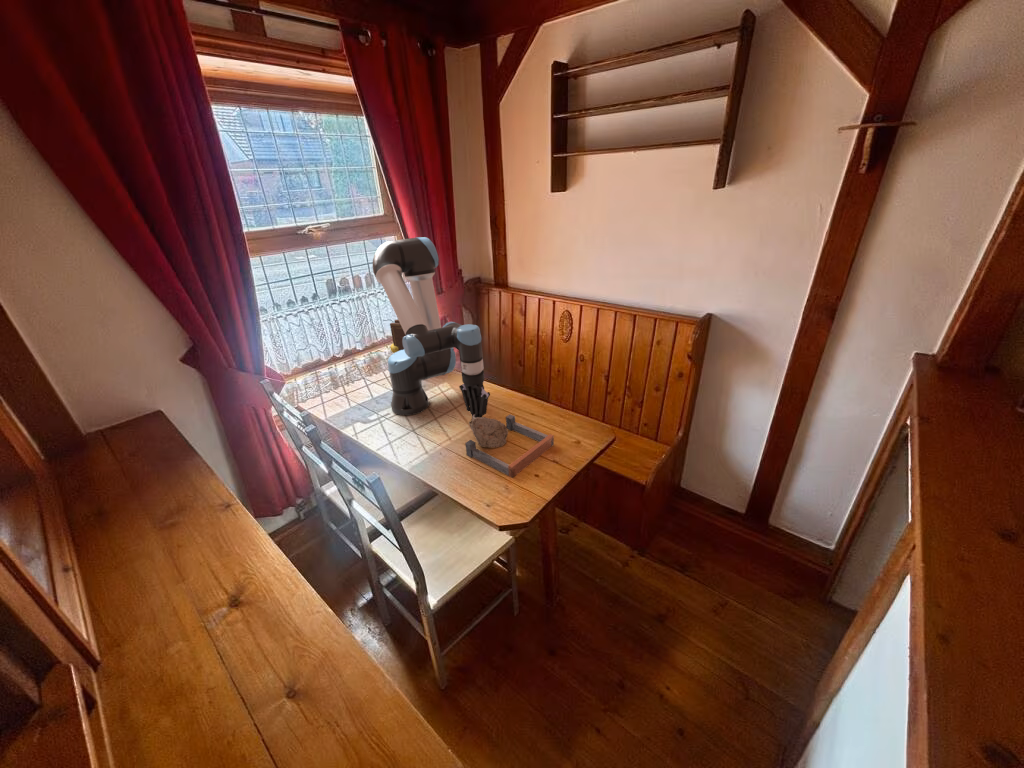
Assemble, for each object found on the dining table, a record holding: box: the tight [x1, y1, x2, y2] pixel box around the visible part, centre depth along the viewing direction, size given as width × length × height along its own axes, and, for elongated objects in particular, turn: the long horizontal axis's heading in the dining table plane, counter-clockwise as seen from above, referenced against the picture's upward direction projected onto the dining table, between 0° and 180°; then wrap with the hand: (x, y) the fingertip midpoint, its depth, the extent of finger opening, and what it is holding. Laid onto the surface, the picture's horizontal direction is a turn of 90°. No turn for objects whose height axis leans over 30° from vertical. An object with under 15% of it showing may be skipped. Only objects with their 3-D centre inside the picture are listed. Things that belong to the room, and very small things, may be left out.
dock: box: [465, 414, 555, 479], centre depth 144 cm, size 20×23×5 cm
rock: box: [468, 416, 509, 448], centre depth 148 cm, size 14×10×8 cm
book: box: [389, 319, 406, 354], centre depth 199 cm, size 22×8×25 cm, turn 77°
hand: (478, 429), depth 153 cm, fingers closed
